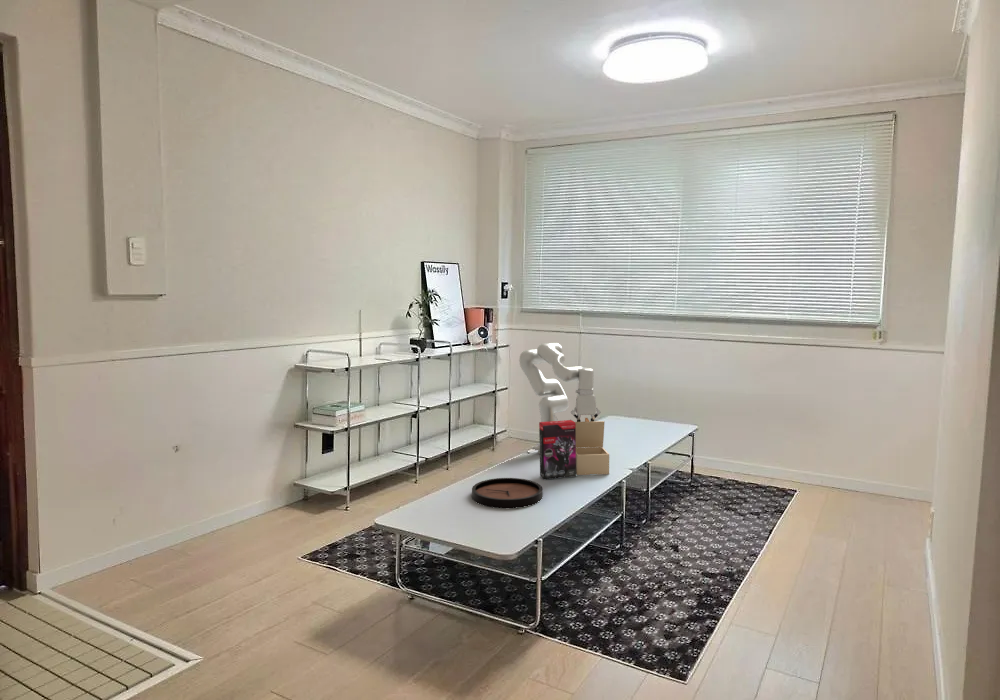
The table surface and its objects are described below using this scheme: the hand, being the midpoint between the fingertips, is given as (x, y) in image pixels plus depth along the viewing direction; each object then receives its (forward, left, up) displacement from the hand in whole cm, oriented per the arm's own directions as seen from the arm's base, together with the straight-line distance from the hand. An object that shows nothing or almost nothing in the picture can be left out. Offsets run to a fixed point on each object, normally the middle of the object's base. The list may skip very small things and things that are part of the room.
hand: (585, 426), depth 348 cm
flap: (0, -6, -3) cm, 6 cm away
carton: (0, -11, -20) cm, 23 cm away
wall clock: (-45, -46, -20) cm, 68 cm away
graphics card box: (-18, -20, -20) cm, 34 cm away
